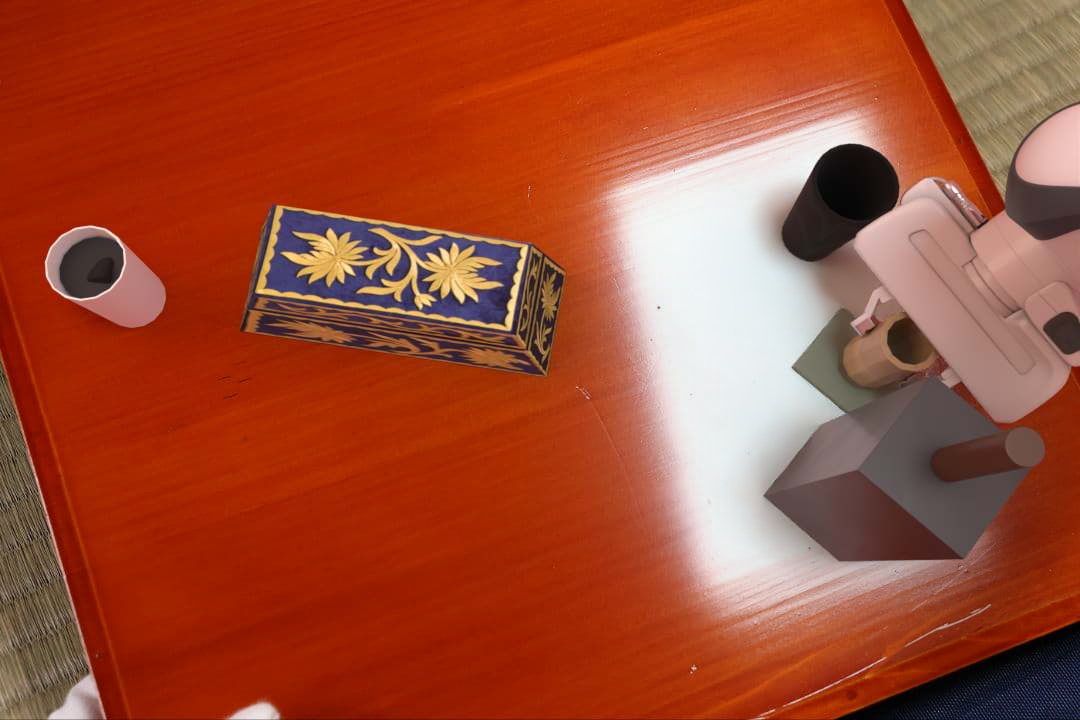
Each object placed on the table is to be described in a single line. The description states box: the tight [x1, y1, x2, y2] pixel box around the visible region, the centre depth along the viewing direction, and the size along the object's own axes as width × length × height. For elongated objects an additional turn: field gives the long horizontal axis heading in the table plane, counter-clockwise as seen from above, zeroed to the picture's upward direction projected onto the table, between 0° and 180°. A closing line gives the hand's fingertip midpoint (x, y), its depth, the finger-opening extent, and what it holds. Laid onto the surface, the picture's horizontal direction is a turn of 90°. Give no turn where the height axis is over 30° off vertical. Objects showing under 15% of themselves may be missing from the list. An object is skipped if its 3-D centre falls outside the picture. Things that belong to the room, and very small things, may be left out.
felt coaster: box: [791, 306, 926, 414], centre depth 83 cm, size 10×8×1 cm
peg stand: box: [763, 374, 1046, 563], centre depth 65 cm, size 9×9×31 cm
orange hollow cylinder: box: [843, 310, 940, 388], centre depth 77 cm, size 5×5×8 cm
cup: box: [780, 143, 901, 262], centre depth 81 cm, size 8×8×12 cm
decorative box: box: [239, 203, 567, 378], centre depth 79 cm, size 11×30×9 cm, turn 82°
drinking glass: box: [44, 225, 167, 329], centre depth 77 cm, size 7×7×10 cm
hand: (880, 359), depth 77 cm, fingers closed on orange hollow cylinder, 5 cm apart
